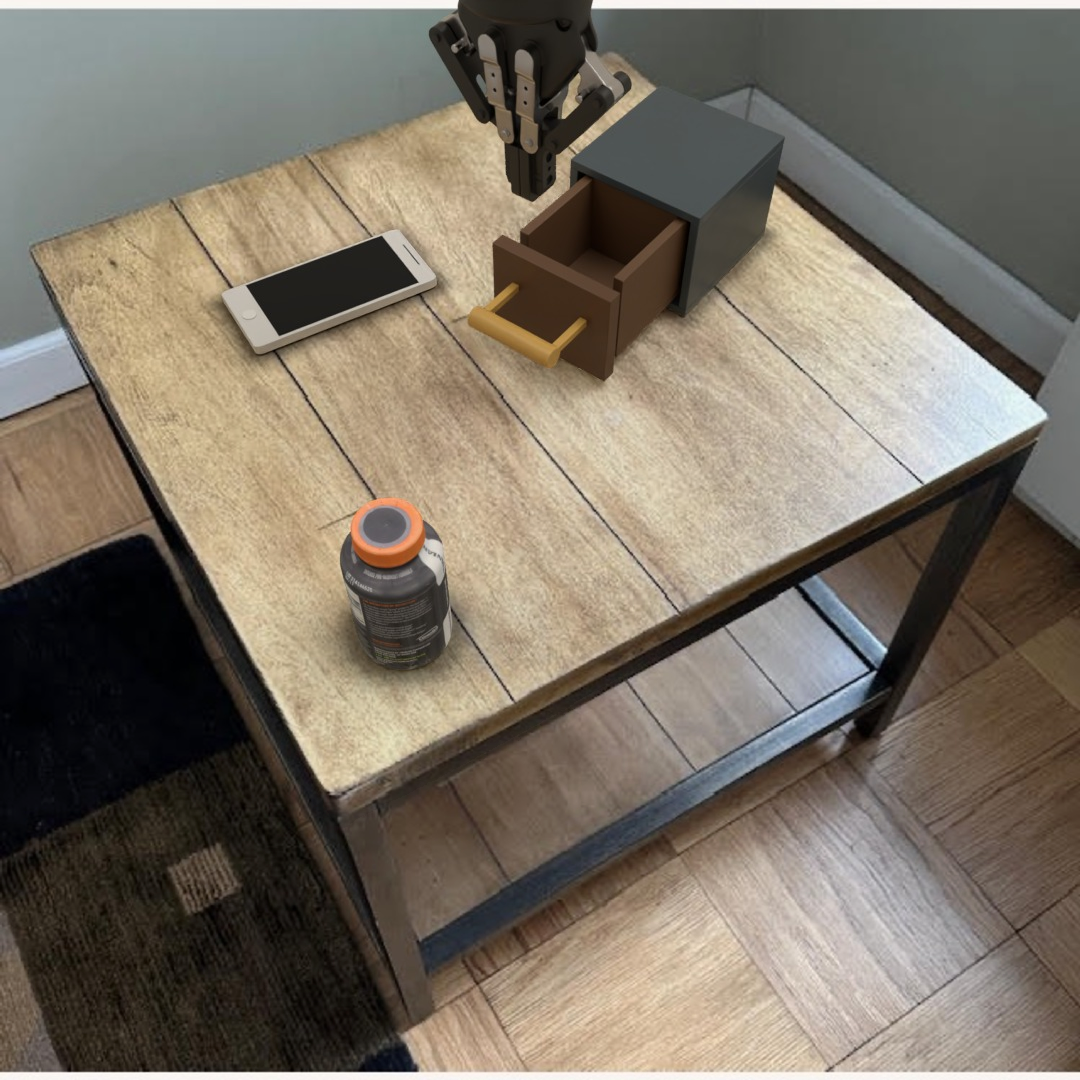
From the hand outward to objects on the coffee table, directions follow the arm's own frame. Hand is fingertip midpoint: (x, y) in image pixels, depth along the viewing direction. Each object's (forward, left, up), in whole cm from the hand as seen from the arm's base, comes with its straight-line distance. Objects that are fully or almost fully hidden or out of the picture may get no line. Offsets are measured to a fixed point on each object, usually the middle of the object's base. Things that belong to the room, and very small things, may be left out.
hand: (530, 191), depth 68 cm
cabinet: (0, -19, -17) cm, 25 cm away
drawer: (0, -6, -16) cm, 17 cm away
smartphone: (+18, +2, -17) cm, 25 cm away
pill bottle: (-7, +22, -17) cm, 29 cm away
